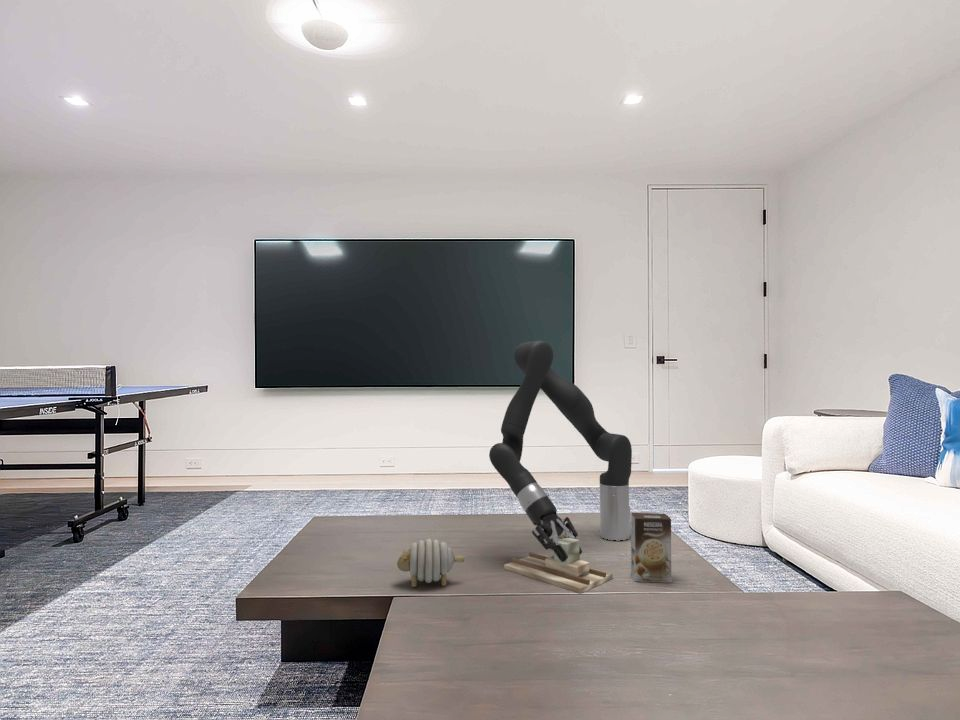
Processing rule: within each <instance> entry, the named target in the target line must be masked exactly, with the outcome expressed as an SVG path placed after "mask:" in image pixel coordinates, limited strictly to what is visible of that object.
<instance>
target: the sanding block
mask: <svg viewBox="0 0 960 720" xmlns="http://www.w3.org/2000/svg"><path fill="white" fill-rule="evenodd" d="M558 542H559V545H561V547H562V548H563V550H564V551H565V553H566V554H567V556H568V559H567V560H566V561H564V562H561V560H560V559H559V558H558V557H557V555H556V554H555V552H554V551H553V553H554V554H553V555H552V556H550V557H549V558H546V559H545V567H547V568H550V569H554V570H557V571H561V572H564V573H567V574H571V575H574V576H578V577H583V576H586V575H588V574H589V567H590V562H589V561H586V560H582V559H580V556H581V554H579V547H580V539H577V538H575V539H572V538H568V536H566V538H563V539H560V538H559V539H558Z"/></svg>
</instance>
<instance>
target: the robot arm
mask: <svg viewBox="0 0 960 720" xmlns="http://www.w3.org/2000/svg"><path fill="white" fill-rule="evenodd" d="M513 358H514V361H515V364H516V365H517V367H518V369H519V370H520V371H522V373H524V377H523V380H522V382H521V383H520V386H519V387H518V389H517V391H516V392H515V393H514V395H513V397H512V398H511V399H510V401H509V403H508V406H507V407H506V410H505V413H504V417H503V420H502V423H501V427H500V433H501V434H502V442H499V443H495V444H493V446H491V448H490V450H489V454H488V455H489V461H490V462H491V465H492V466H493V468H494V469H495V470H496V472H498V474H499V475H500V476H501V477H502V478H503V480H505V482H506V483H507V484H508V486H509V488H510V490H511V491H512V492H513V494H514V495H515V497H516V499H517V500H518V502H519V505H520V506H521V508H522V509H523V511H524V512H525V514H526V515H527V517H528V518H529V520H530V521H531V523H532V524H533V525H534V529H532V531H531V534H532V535H533V536H534V537H535V538H536V540H537V541H538V542H539V543H540V544H541V547H543V548H544V549H545V550H546V551H549V550H551V551H553V553H554V552H555V554H556V555H557V557H558V558H559V559H560V560H561V562H564V561H566V560H567V559H568V556H567V554H566V553H565V551H564V550H563V548H562V547H561V545H559V542H558V540H560V539H563V538H566V537H568V538H572V539H577V537H578V536H579V534H578V531H577V530H576V529H575V526H574V525H573V523H572V522H571V520H570V518H569V517H568V516H566V517H565V518H563V519H562V518H561V517H560V516H558V513H557V510H558V509H557V507H556V506H555V505H554V504H555V503H553V501H552V500H551V499H550V497H549V496H548V495H547V493H546V491H545V490H544V489H543V487H541V485H539V483H538V482H537V480H536V479H535V478H534V476H533V474H532V473H531V472H530V471H529V470H528V469H527V467H525V466H523V464H522V463H521V460H522V454H523V448H524V436H525V433H526V429H527V425H528V423H529V419H530V416H531V412H532V409H533V406H534V405H535V401H536V400H537V397H538V394H539V392H540V390H541V391H542V392H543V394H545V395H546V396H547V398H548V399H549V400H550V401H551V402H552V403H553V404H554V405H555V407H556V408H557V409H558V410H559V412H560V413H561V414H562V415H563V416H564V417H565V418H566V420H567V421H568V422H570V423H571V424H572V426H573V427H574V428H575V429H576V431H577V432H579V434H580V435H581V436H582V438H583V439H584V440H585V441H586V443H587V444H588V446H589V448H591V450H592V452H593V453H594V454H595V455H596V457H597V458H598V459H600V460H602V461H604V462H607V463H608V464H607V471H605V472H603V473H601V474H600V475H599V519H600V522H599V525H600V531H599V532H600V537H601V538H602V539H603V538H604V539H603V540H607V539H608V541H613V540H616V541H615V542H619V541H620V540H623V541H627V540H626V539H628V540H630V538H631V536H630V535H631V507H630V484H629V483H630V482H629V481H630V478H631V475H632V474H631V473H632V460H633V459H632V457H633V454H632V453H633V452H632V451H633V450H632V444H631V441H630V439H629V438H628V437H627V436H626V435H623V434H618V433H613V432H612V433H611V432H608V431H607V430H606V429H605V428H604V427H603V426H602V425H601V424H600V423H599V422H598V420H597V418H596V415H595V411H594V407H593V404H592V402H591V401H590V400H589V398H588V397H587V396H586V394H585V393H584V392H583V391H582V390H581V389H580V388H579V387H578V386H577V385H576V384H575V383H573V382H572V381H570V380H569V379H567V378H565V377H564V376H562V375H560V374H559V373H557V372H556V371H555V370H554V369H552V367H551V366H552V364H553V361H554V351H553V347H552V346H551V345H550V343H549V342H547V341H545V340H534V341H533V340H532V341H526V342H522V343H520V344H518V345H517V346H516V347H515V350H514V353H513ZM535 526H536V527H535ZM620 542H621V541H620ZM579 554H580V555H582V554H583V550H582V548H581V547H580V546H579Z"/></svg>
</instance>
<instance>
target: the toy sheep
mask: <svg viewBox="0 0 960 720" xmlns="http://www.w3.org/2000/svg"><path fill="white" fill-rule="evenodd" d="M464 562H465V557H464V556H463V555H455V554H454V552H453V550H452V548H451V547H450V546H448V544H447V542H445V541H441V542H440V541H439V539H434V540H432V538H427V539H425V541H424V539H420V540H419V541H418V542H412V543H411V544H410V548H409V549H407V550H403V551H402V554H401V555H400V556H399V558H398V560H397V563H396V565H397V568H398V570H399V571H401V572H409V573H410V580H411V587H412V588H413V587H415V588H416V587H417V586H418V584H417V582H418V581H420V582H423V581H424V580H425V582H426V584H430V583H433V582H439V580H440V579H441V581H440V582H441V586H442V587H446V585H447V574H448V573H450V572H451V570H452V569H453V567H454V564H455V563H464ZM417 580H418V581H417Z"/></svg>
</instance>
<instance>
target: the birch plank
mask: <svg viewBox="0 0 960 720" xmlns="http://www.w3.org/2000/svg"><path fill="white" fill-rule="evenodd" d="M549 557H551V556H549V555H545V554H541V553H538V552H537V553H536V552H532V551H529V552H528V556H526V557H522V558H520V559H519V558H516V557H512V558H511V562H509V563H505V564H504V565H503V566H504V568H503V569H504V570H506V571H509V572H512V573H515V574H518V575H522V576H526V577H528V578H531V579H534V580H538V581H540V582H543V583H547V584H549V585H553V586H556V587H559V588H563V589H566V590H569V591H571V592H574V593H579V594H582V592H583V593H585V592H587V591H589V590H591V589H593V588H596V587H597V586H600V585H601V584H604V583H606V582H608V581H610V580H613V579H614V578H613V577H614V575H613V573H611V572H607V571H603V570H602V569H601V570H600V569H596V568H592V567H590V566H589V574H588V575H586V576H583V577H578V576H574V575H571V574H567V573H564V572H561V571H557V570H554V569H550V568H547V567H545V559H546V558H549Z"/></svg>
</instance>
